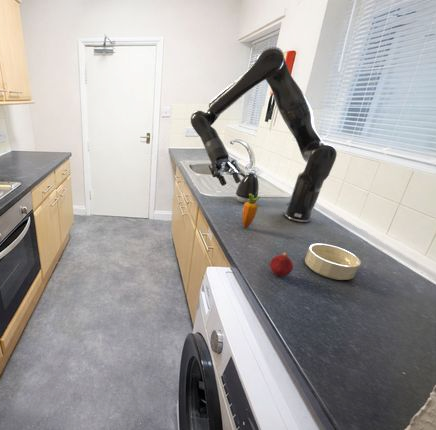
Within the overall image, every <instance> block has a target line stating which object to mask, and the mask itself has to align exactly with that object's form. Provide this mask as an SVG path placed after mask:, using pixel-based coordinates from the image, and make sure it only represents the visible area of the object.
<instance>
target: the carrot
mask: <svg viewBox="0 0 436 430" xmlns="http://www.w3.org/2000/svg"><path fill="white" fill-rule="evenodd" d="M249 198H250V199H248V200H249V201H250V202H246V203H243V204H244V205H243V210H242V226H243V228H244V229H248V228H249V226H251V225H252V222H253V221H254V219H255V217H256V214H257V212H258V208H259V207H258V203H256V202H257V201H258V200H259V199H260V198H261V196H260V195H258V197H257V198H256V199H254V195H251V194H249Z"/></svg>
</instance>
